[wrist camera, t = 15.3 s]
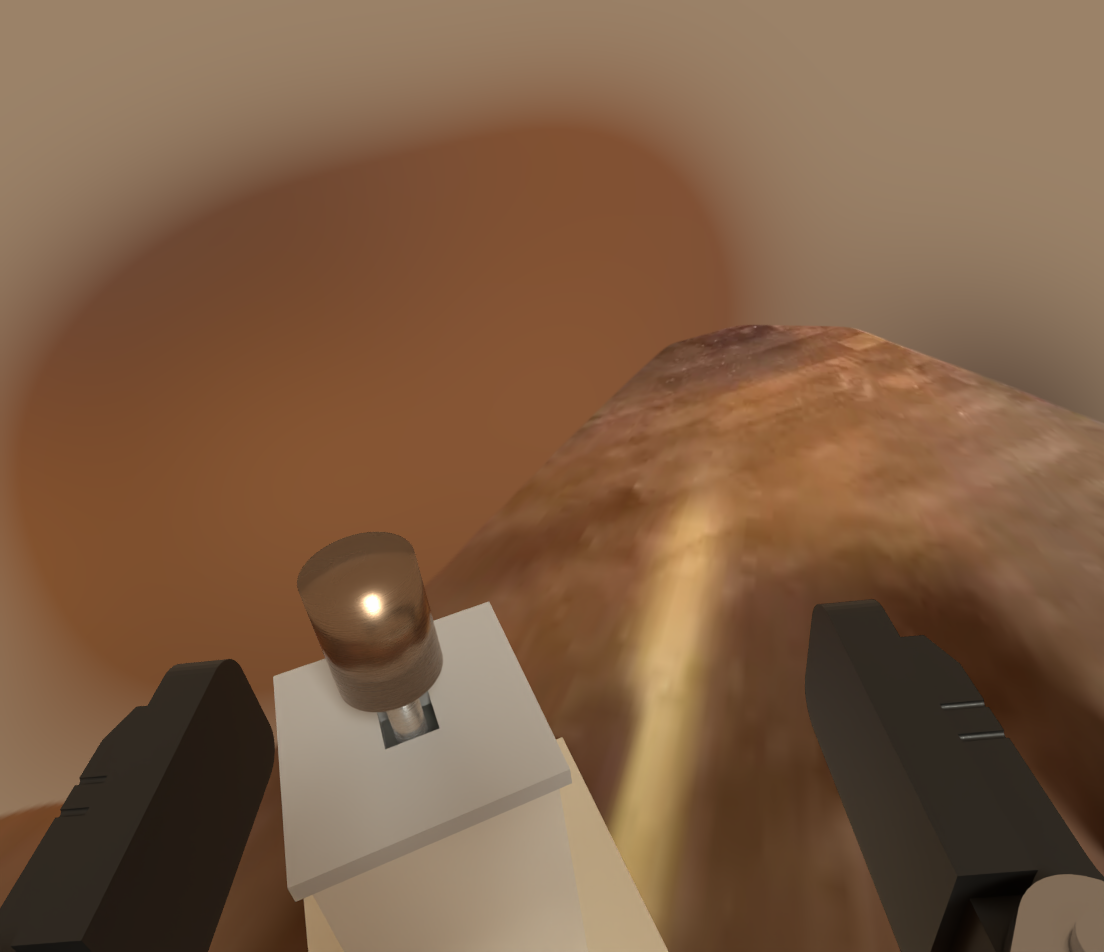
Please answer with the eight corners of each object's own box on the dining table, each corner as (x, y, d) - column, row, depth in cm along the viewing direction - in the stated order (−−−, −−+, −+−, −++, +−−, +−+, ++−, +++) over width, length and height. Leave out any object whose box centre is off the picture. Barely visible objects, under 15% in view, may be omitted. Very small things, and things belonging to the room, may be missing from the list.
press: (563, 747, 55) (530, 542, 45) (700, 1026, 39) (699, 809, 29) (304, 854, 50) (196, 652, 40) (338, 1225, 34) (171, 1053, 23)
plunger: (508, 788, 46) (435, 485, 34) (557, 918, 39) (489, 596, 27) (374, 844, 44) (244, 542, 32) (402, 993, 37) (247, 679, 24)
